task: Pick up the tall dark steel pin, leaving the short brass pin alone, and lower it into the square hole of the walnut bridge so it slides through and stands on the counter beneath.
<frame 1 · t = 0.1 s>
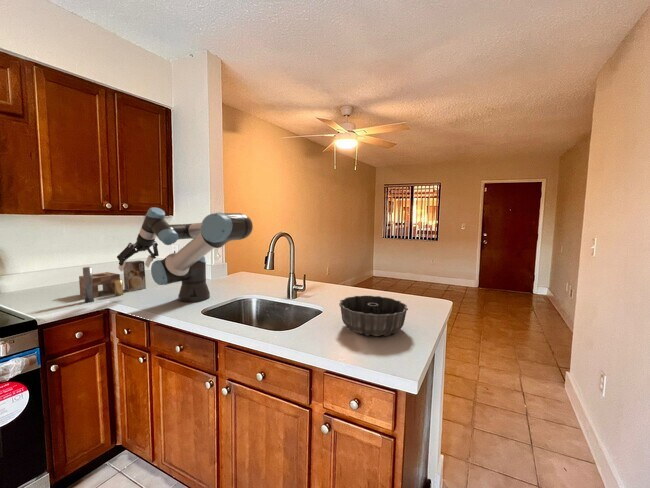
hand: (134, 267, 162), 15 cm above the table, tool tilted 35°, fingers open, 13 cm apart
bundt pan: (372, 328, 122), on the table
coffee box: (135, 289, 179), on the table
tall steel pin: (89, 301, 154), on the table
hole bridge: (100, 293, 169), on the table
short brass pin: (119, 295, 166), on the table
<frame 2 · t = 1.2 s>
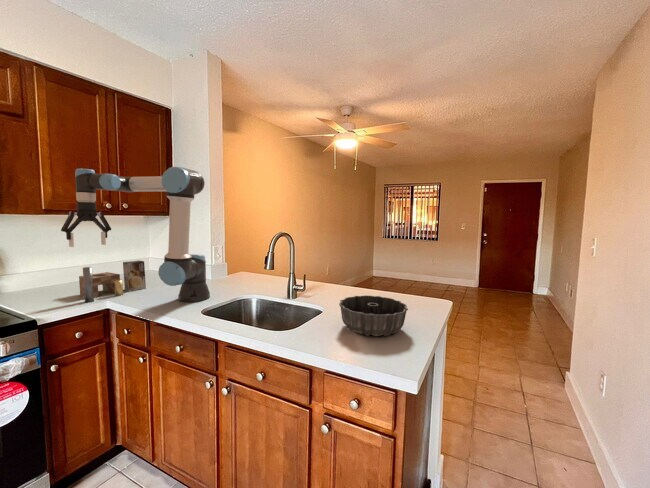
hand: (88, 245, 151), 28 cm above the table, tool pointing down, fingers open, 13 cm apart
nothing on the table moved.
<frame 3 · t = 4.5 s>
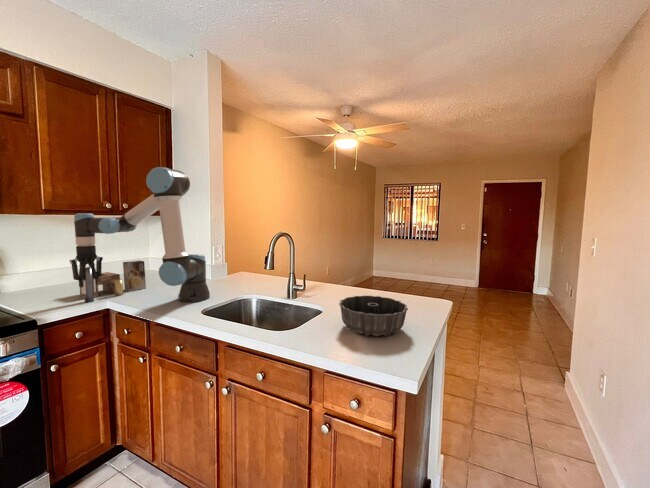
hand: (88, 292, 153), 5 cm above the table, tool pointing down, fingers closed on tall steel pin, 3 cm apart
tall steel pin: (89, 301, 154), on the table, touching gripper
everything else where it was.
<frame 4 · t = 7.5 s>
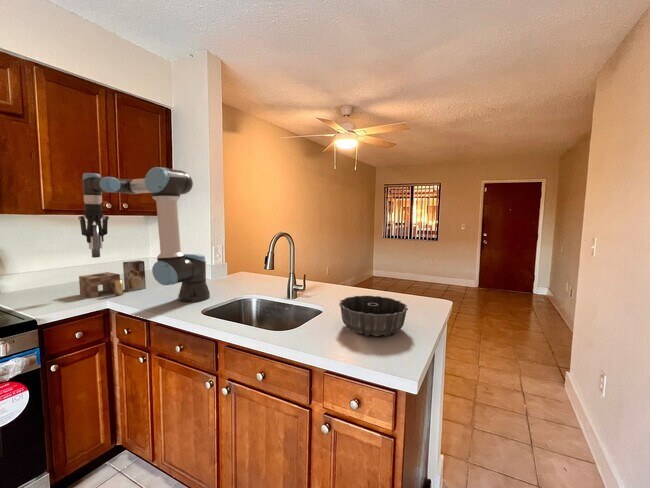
hand: (95, 248, 164), 25 cm above the table, tool pointing down, fingers closed on tall steel pin, 3 cm apart
tall steel pin: (96, 257, 164), point 20 cm above the table, touching gripper
everything else where it was.
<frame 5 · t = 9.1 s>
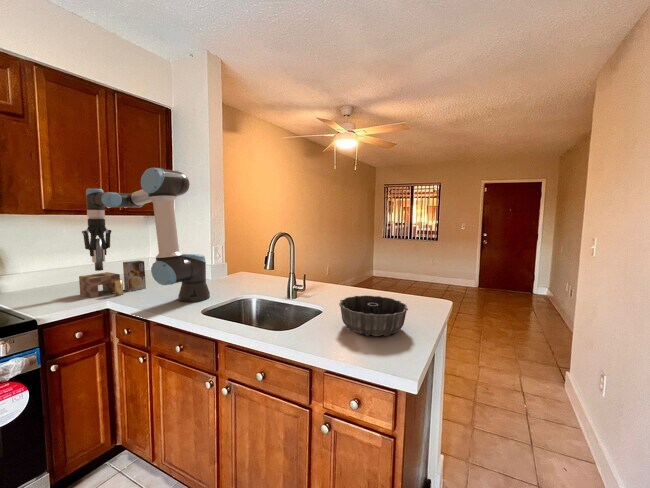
hand: (98, 261, 167), 17 cm above the table, tool pointing down, fingers closed on tall steel pin, 3 cm apart
tall steel pin: (99, 270, 168), point 13 cm above the table, touching gripper
everything else where it was.
when the fingers open (13 cm above the table, at t = 10.5 s): tall steel pin drops 8 cm, on the table.
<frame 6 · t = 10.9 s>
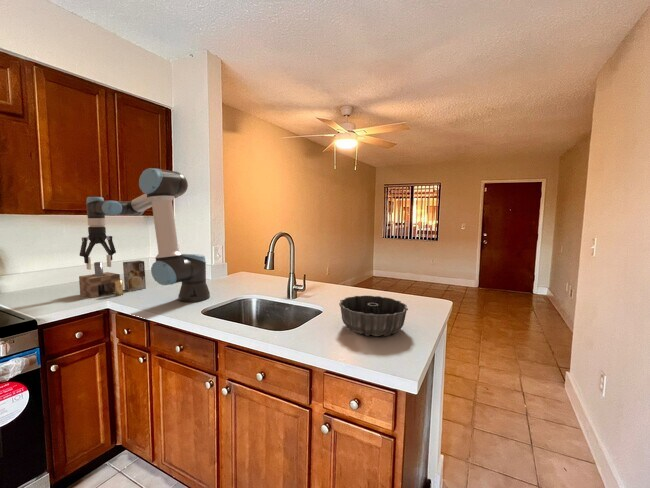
hand: (99, 267, 167), 14 cm above the table, tool pointing down, fingers open, 9 cm apart
tall steel pin: (100, 293, 169), on the table
everything else where it was.
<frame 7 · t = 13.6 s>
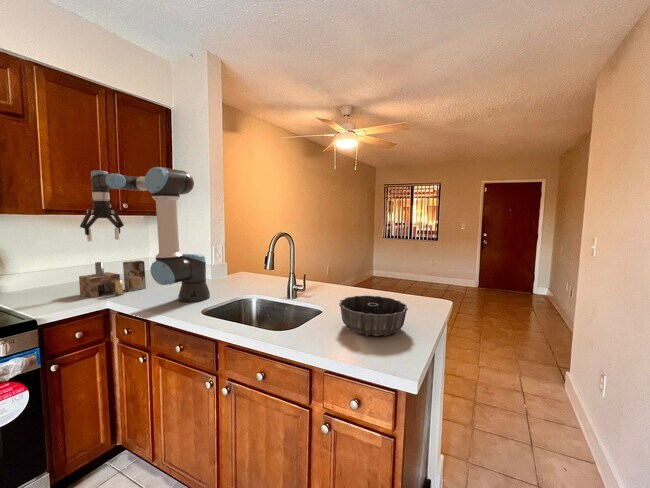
hand: (103, 240, 167), 29 cm above the table, tool pointing down, fingers open, 13 cm apart
nothing on the table moved.
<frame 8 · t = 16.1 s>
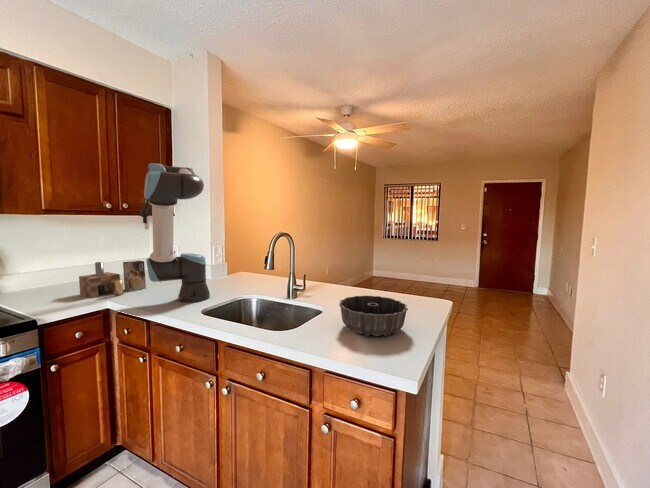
hand: (158, 228, 179), 35 cm above the table, tool pointing down, fingers open, 13 cm apart
nothing on the table moved.
at the end: tall steel pin 0.1 cm off-centre on the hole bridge, point 0.0 cm above the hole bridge's base; tall steel pin tilted 0°; short brass pin moved 0.0 cm from its start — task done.
